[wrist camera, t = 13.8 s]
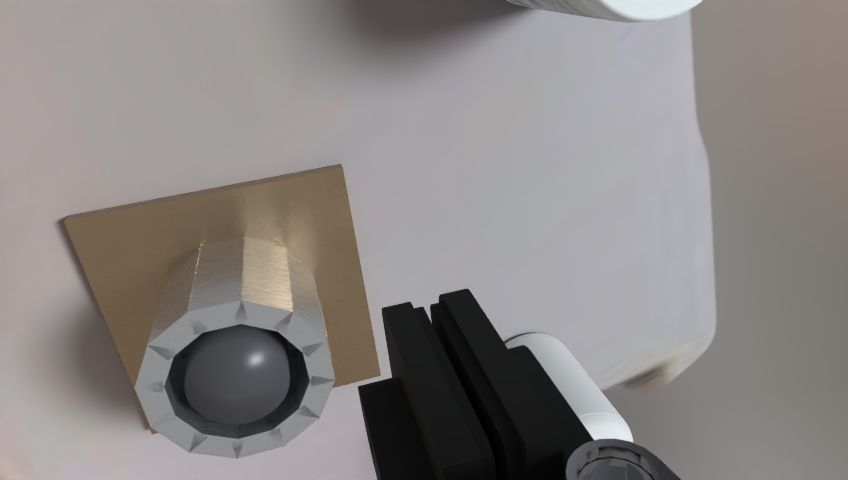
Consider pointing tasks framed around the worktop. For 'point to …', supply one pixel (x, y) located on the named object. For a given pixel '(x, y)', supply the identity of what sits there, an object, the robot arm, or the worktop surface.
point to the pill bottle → (575, 387)
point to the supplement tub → (614, 8)
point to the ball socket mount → (232, 296)
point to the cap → (237, 373)
